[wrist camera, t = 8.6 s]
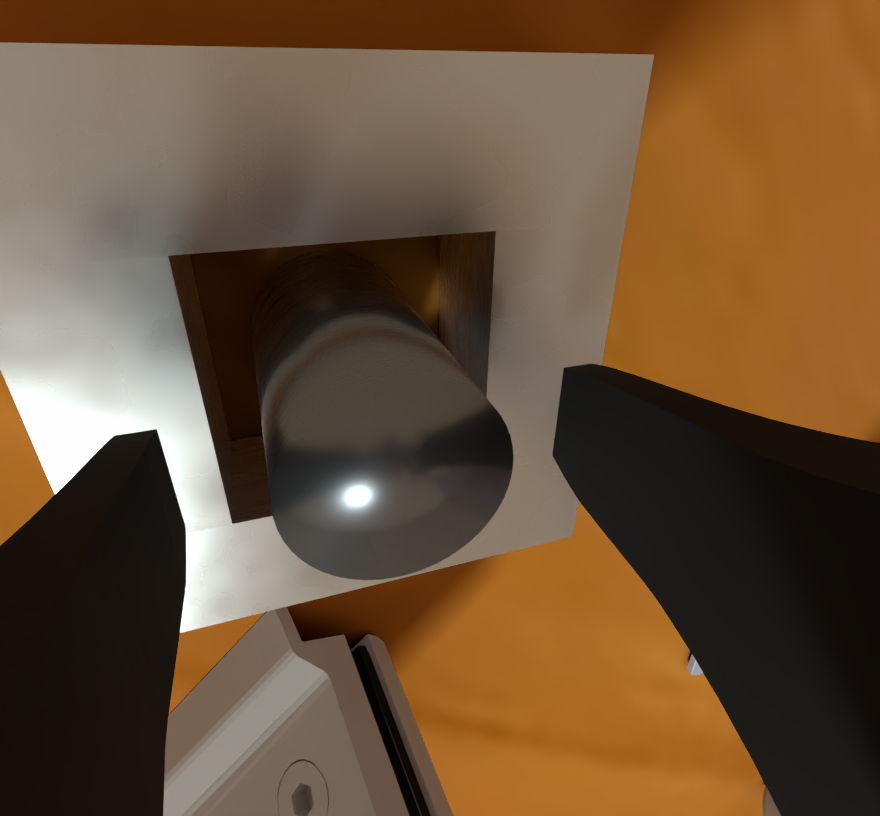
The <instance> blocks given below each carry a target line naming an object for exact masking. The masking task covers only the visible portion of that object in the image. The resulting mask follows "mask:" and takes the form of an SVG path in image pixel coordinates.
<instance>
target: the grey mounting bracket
mask: <svg viewBox="0 0 880 816" xmlns="http://www.w3.org/2000/svg"><path fill="white" fill-rule="evenodd" d="M163 816H453V814H452V811H451V809H450V806H449V804H448V801H447V799H446V796H445V794H444V791H443V789H442V786H441V784H440V781H439V779H438V776H437V774H436V771H435V768H434V766H433V763H432V761H431V758H430V756H429V753H428V751H427V748H426V746H425V743H424V741H423V738H422V736H421V733H420V731H419V728H418V726H417V723H416V721H415V718H414V716H413V713H412V711H411V708H410V706H409V703H408V701H407V698H406V696H405V693H404V691H403V688H402V686H401V683H400V681H399V678H398V676H397V673H396V671H395V668H394V666H393V663H392V660H391V658H390V655H389V653H388V650H387V648H386V645H385V643H384V641H382V640H381V639H380V638H378V637H377V636H374V635H370V634H367V635H366V636H365V637H364V638H363V639H362V640H361V641H360V642H359V643H358V644H357V645H356V646H355V647H354V648H353V649H352V650H351V648H350V646H348V643H347V641H346V638H345V635H339V636H333V637H327V638H321V639H316V640H310V641H304V642H303V641H302V640H301V638H300V636H299V633H298V631H297V629H296V627H295V624H294V622H293V620H292V618H291V615H290V613H289V611H288V609H287V607H283V608H279V609H275V610H271V611H267V612H266V613H265V614H264V615H263V616H262V617H261V618H260V619H259V620H258V621H257V622H256V624H255V625H254V626H253V627H252V628H251V629H250V630H249V631H248V632H247V633H246V634H245V635H244V636H243V637H242V638H241V639H240V640H239V641H238V643H237V644H236V645H235V646H234V647H233V648H232V649H231V650H230V651H229V652H228V653H227V654H226V655H225V656H224V657H223V658H222V659H221V661H220V662H219V663H218V664H217V665H216V666H215V667H214V668H213V669H212V670H211V671H210V672H209V673H208V674H207V675H206V676H205V677H204V678H203V680H202V681H201V682H200V683H199V684H198V685H197V686H196V687H195V688H194V689H193V690H192V691H191V692H190V693H189V694H188V695H187V696H186V698H185V699H184V700H183V701H182V702H181V703H180V704H179V705H178V706H177V707H176V708H175V709H174V710H173V711H172V712H171V713H170V714H169V715H168V723H167V734H166V745H165V773H164V805H163Z"/></svg>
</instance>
